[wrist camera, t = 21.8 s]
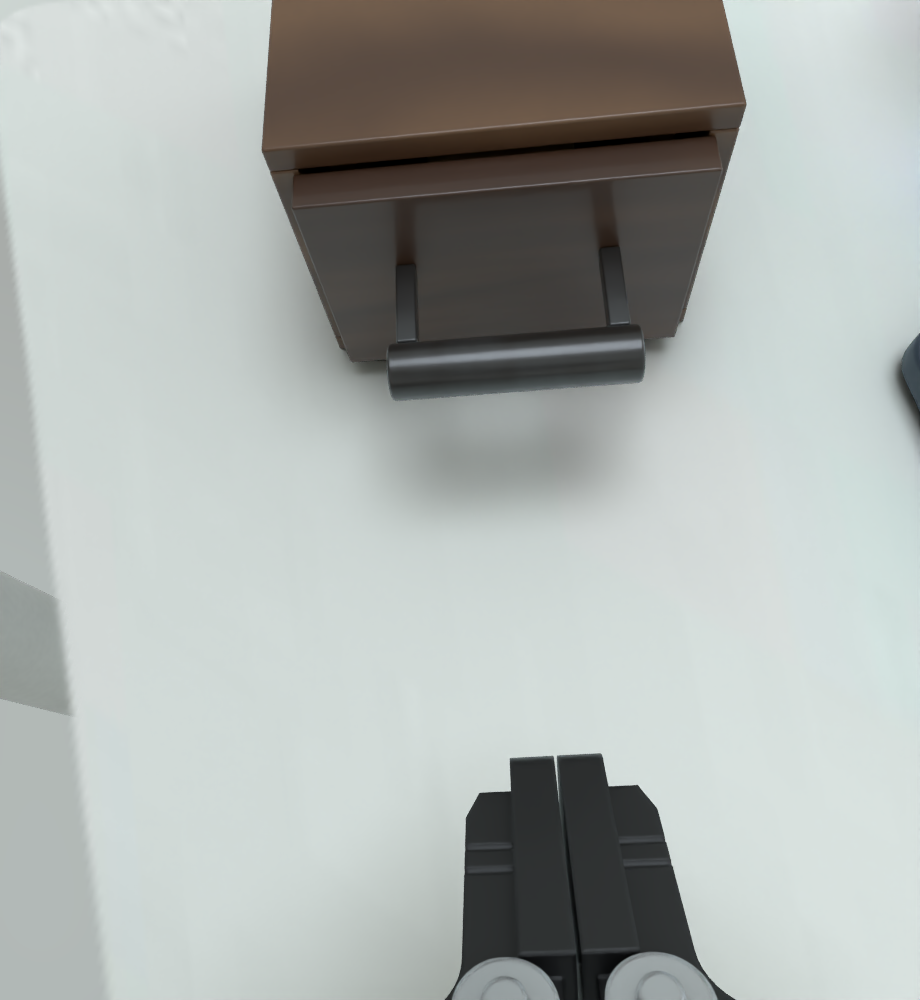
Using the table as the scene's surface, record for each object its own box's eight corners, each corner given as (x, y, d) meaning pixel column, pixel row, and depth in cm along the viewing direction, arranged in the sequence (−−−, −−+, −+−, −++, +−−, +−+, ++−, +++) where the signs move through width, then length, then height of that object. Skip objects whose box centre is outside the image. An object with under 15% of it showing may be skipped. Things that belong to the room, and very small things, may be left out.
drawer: (693, 449, 27) (753, 308, 19) (349, 473, 27) (283, 345, 20) (629, 57, 33) (655, -155, 26) (354, 85, 34) (306, -115, 27)
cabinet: (683, 322, 30) (747, 103, 21) (340, 349, 30) (260, 150, 21) (634, 36, 35) (669, -233, 26) (345, 65, 36) (284, -186, 27)
